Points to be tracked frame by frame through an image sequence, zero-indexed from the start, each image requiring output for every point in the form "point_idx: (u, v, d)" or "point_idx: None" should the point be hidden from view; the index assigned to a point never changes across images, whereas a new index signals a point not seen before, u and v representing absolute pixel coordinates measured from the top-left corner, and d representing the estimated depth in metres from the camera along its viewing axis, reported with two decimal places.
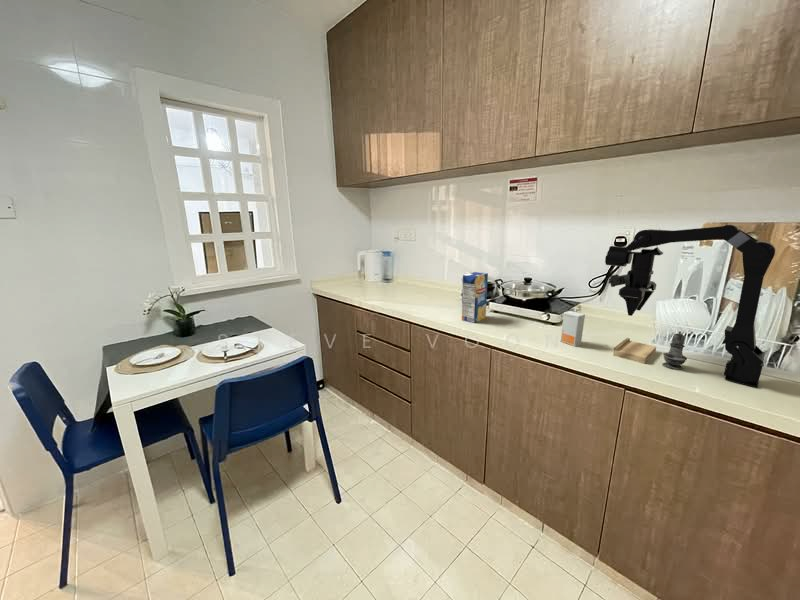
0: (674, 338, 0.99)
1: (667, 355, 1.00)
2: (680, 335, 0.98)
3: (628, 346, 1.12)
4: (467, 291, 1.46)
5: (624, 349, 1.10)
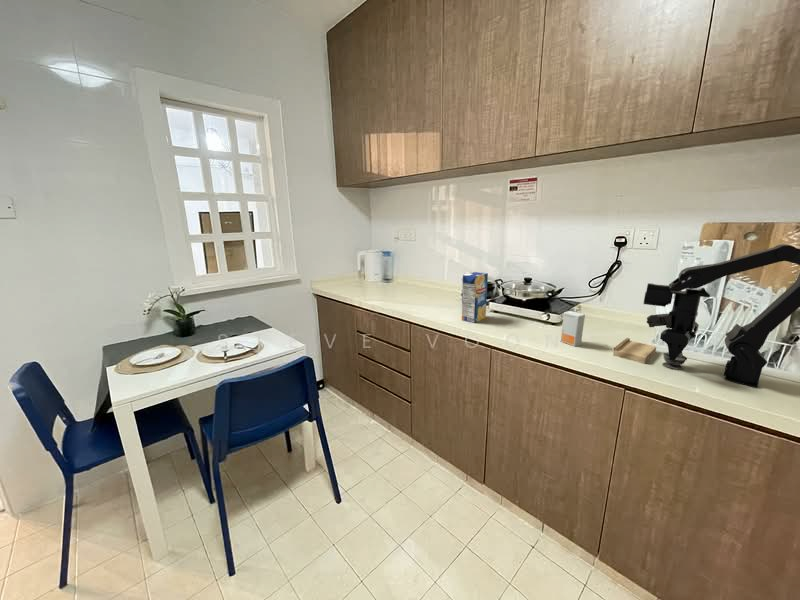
0: None
1: (667, 355, 1.00)
2: None
3: (628, 346, 1.12)
4: (467, 291, 1.46)
5: (624, 349, 1.10)
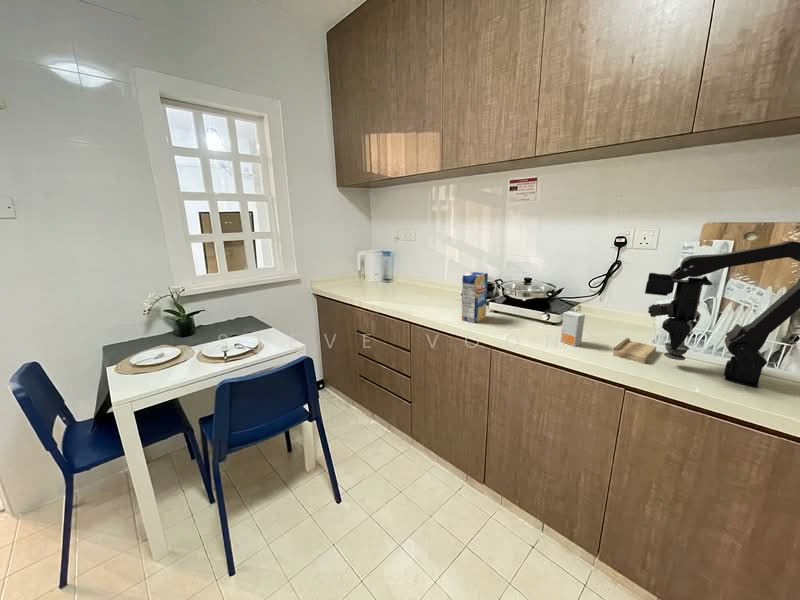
0: None
1: (669, 345, 0.99)
2: None
3: (628, 346, 1.12)
4: (467, 291, 1.46)
5: (624, 349, 1.10)
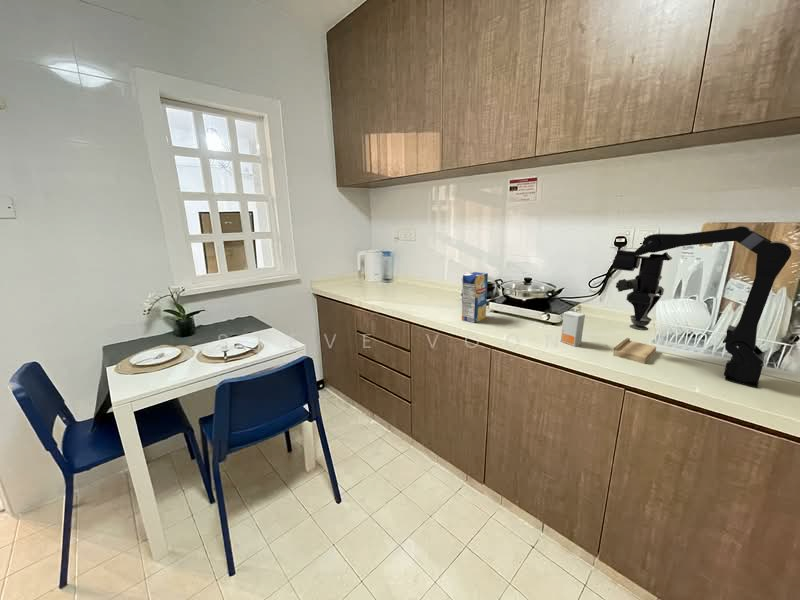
0: None
1: (634, 317, 1.08)
2: None
3: (628, 346, 1.12)
4: (467, 291, 1.46)
5: (624, 349, 1.10)
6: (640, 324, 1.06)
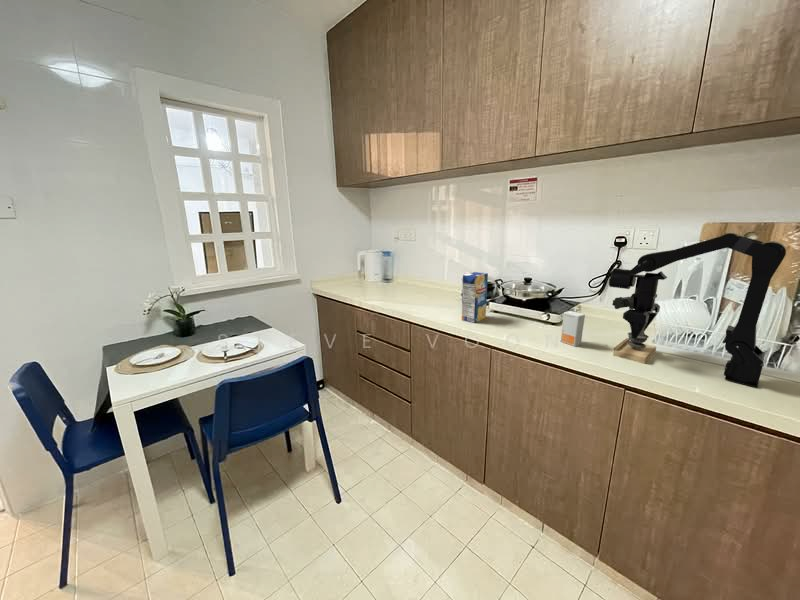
0: None
1: (631, 334, 1.09)
2: None
3: (628, 346, 1.12)
4: (467, 291, 1.46)
5: (624, 349, 1.10)
6: (637, 341, 1.08)
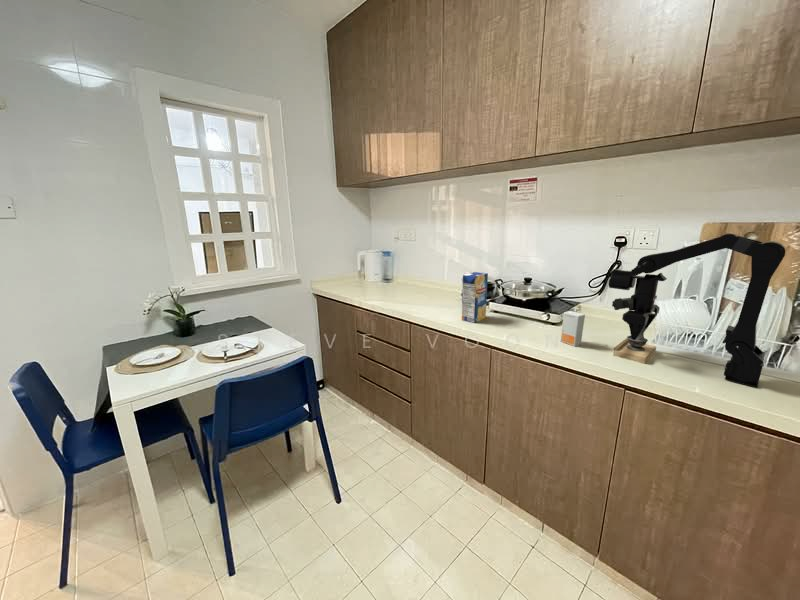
0: None
1: (629, 336, 1.11)
2: None
3: None
4: (467, 291, 1.46)
5: (624, 349, 1.10)
6: (631, 343, 1.09)
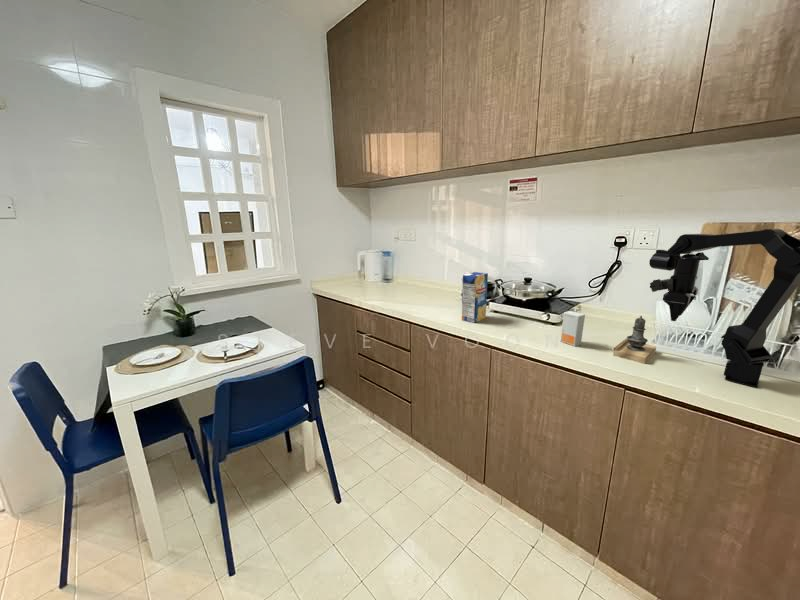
0: (635, 321, 1.09)
1: (629, 336, 1.11)
2: (639, 319, 1.07)
3: None
4: (467, 291, 1.46)
5: (624, 349, 1.10)
6: (631, 344, 1.09)
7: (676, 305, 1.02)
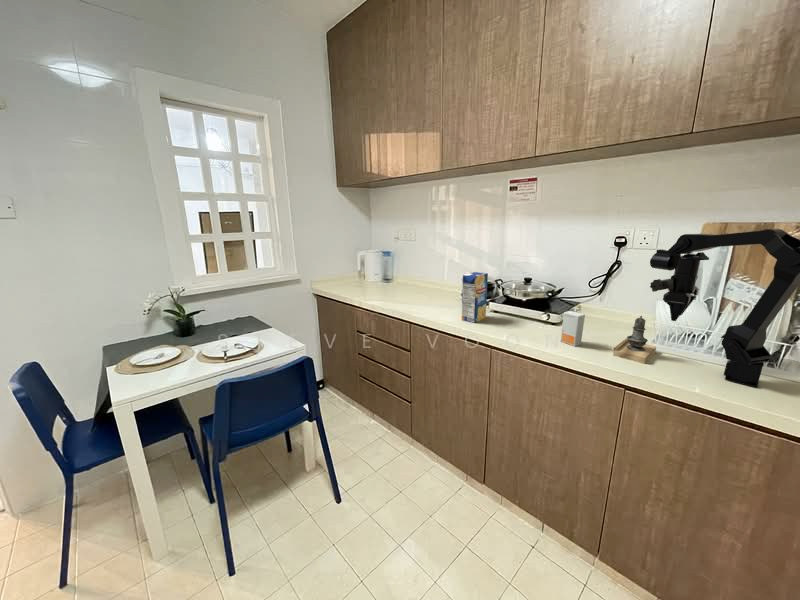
0: (635, 321, 1.09)
1: (629, 336, 1.11)
2: (639, 319, 1.07)
3: None
4: (467, 291, 1.46)
5: (624, 349, 1.10)
6: (631, 344, 1.09)
7: (676, 305, 1.02)
